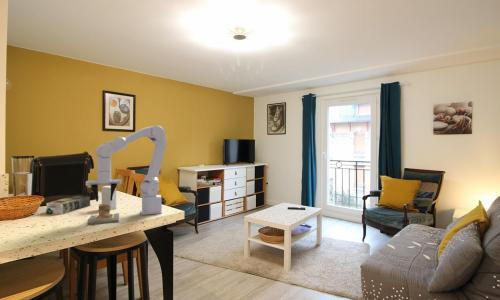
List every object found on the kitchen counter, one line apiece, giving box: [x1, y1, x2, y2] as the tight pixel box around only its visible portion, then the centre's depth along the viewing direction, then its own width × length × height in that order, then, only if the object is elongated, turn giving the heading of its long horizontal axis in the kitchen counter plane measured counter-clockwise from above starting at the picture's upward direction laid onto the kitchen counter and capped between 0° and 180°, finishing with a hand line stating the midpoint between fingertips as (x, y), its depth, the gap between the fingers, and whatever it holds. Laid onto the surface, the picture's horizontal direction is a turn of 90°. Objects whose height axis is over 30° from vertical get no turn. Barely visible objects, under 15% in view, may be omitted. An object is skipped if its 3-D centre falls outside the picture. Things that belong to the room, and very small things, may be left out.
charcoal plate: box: [87, 212, 120, 226], centre depth 130 cm, size 12×12×2 cm
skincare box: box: [101, 185, 117, 211], centre depth 150 cm, size 6×4×12 cm
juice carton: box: [45, 195, 91, 215], centre depth 148 cm, size 20×10×6 cm, turn 171°
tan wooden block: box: [98, 203, 111, 219], centre depth 130 cm, size 4×4×6 cm
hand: (104, 200), depth 130 cm, fingers open, 5 cm apart
